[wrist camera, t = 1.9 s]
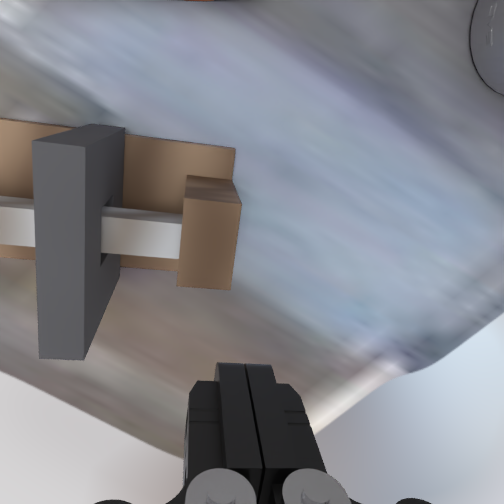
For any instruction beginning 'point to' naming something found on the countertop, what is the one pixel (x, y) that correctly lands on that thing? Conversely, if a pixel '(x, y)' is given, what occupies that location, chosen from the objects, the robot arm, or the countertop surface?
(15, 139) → the rod stand
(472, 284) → the countertop surface
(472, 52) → the robot arm
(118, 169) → the dark grey square plate
